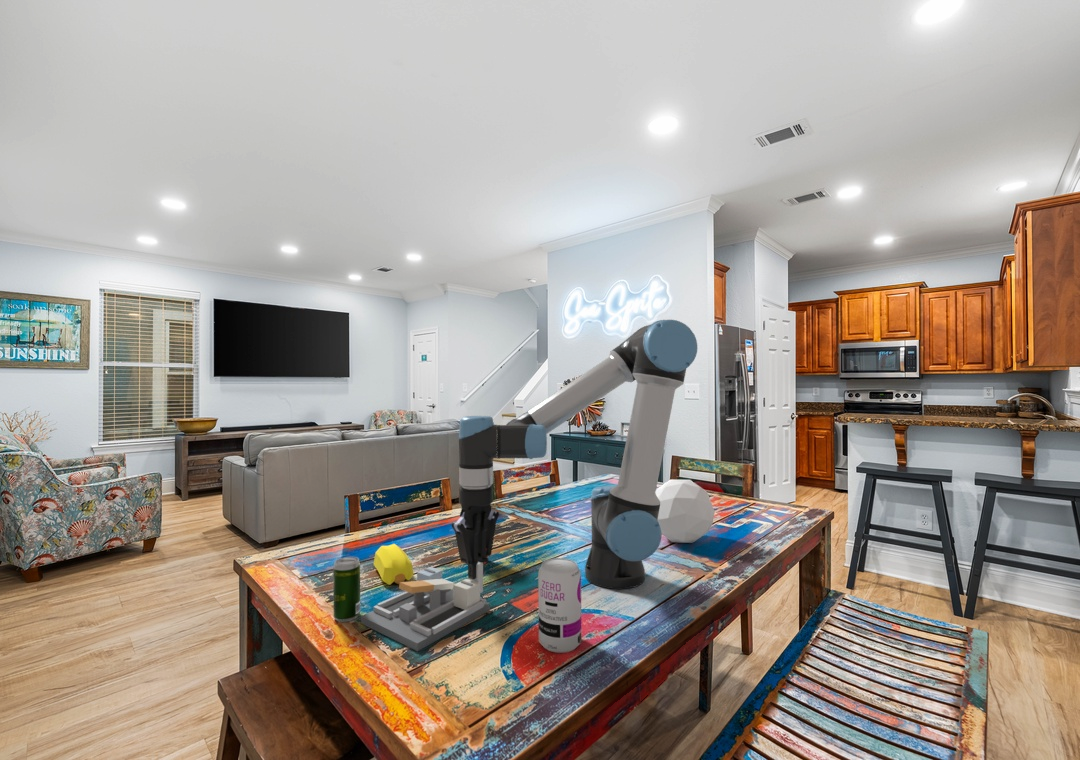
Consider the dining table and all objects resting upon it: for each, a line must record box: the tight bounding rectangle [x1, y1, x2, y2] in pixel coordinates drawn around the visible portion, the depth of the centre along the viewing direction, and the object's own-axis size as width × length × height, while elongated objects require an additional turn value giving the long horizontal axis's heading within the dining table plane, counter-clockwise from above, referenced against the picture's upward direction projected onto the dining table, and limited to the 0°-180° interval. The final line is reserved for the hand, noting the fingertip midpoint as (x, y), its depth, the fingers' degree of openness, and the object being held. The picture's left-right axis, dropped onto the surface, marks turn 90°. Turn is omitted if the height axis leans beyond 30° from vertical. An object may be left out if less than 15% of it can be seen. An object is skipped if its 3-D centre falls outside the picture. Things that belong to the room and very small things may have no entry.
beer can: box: [332, 556, 362, 623], centre depth 105 cm, size 5×5×12 cm
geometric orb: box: [655, 478, 715, 544], centre depth 152 cm, size 19×20×20 cm
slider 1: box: [416, 566, 443, 595], centre depth 113 cm, size 4×4×5 cm
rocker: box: [398, 578, 455, 593], centre depth 104 cm, size 4×12×2 cm, turn 144°
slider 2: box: [453, 578, 481, 610], centre depth 106 cm, size 4×4×5 cm
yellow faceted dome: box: [373, 543, 415, 586], centre depth 127 cm, size 18×7×8 cm
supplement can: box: [537, 557, 582, 654], centre depth 94 cm, size 8×8×15 cm
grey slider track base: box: [360, 589, 491, 652], centre depth 104 cm, size 18×20×6 cm
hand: (476, 591), depth 108 cm, fingers closed
